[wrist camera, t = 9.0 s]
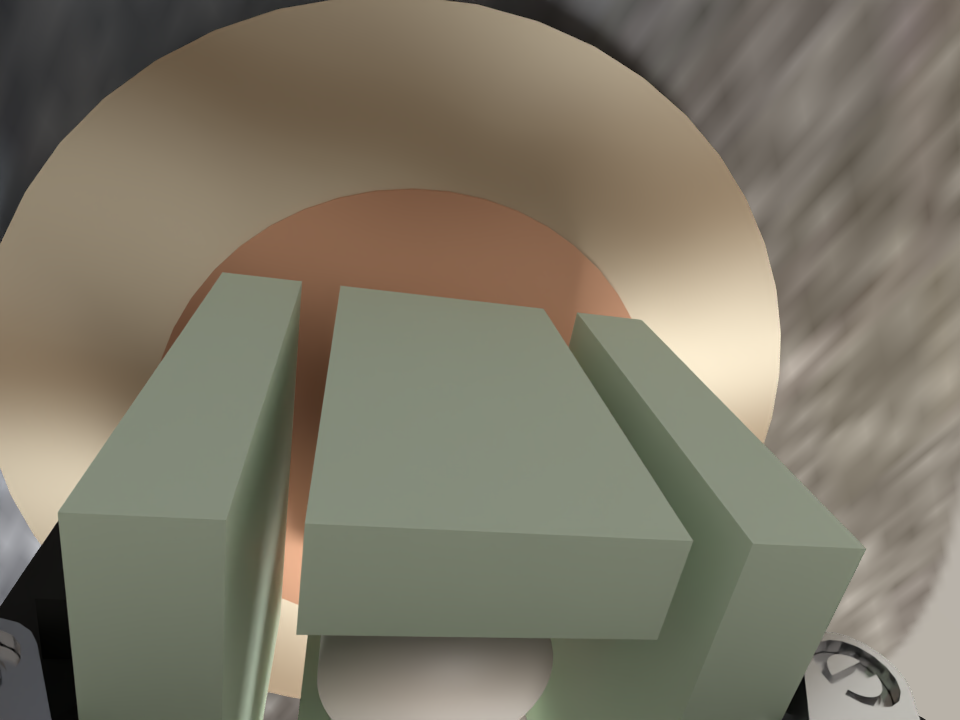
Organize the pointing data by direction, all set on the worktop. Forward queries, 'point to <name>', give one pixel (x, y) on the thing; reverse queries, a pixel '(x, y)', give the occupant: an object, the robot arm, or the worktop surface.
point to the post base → (369, 255)
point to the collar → (444, 515)
